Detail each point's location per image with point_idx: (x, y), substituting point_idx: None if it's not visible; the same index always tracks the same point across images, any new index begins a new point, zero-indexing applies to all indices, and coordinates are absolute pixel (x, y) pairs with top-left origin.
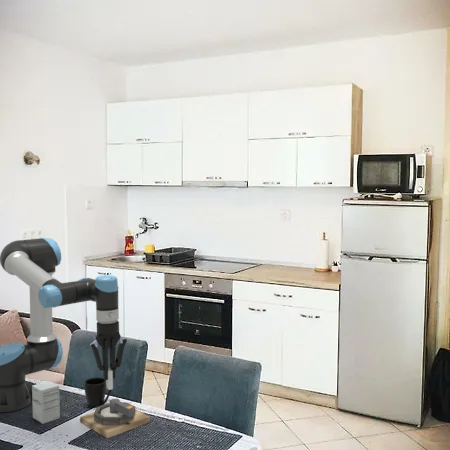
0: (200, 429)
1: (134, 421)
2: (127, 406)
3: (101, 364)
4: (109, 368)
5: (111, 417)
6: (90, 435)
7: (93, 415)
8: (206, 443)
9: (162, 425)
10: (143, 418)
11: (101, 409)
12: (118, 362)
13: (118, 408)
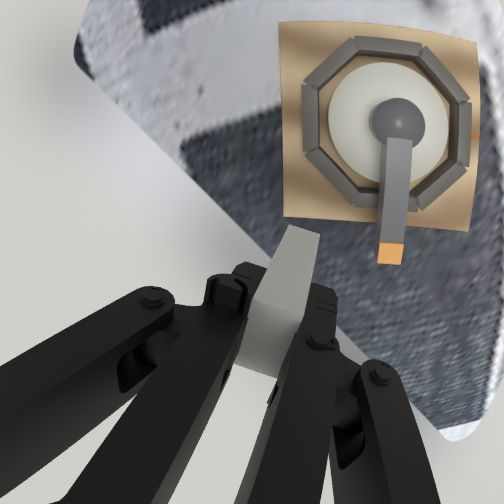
0: (480, 358)
1: (409, 218)
2: (396, 232)
3: (129, 393)
4: (296, 314)
5: (335, 175)
6: (256, 147)
7: (327, 46)
8: (424, 404)
9: (461, 274)
10: (445, 225)
11: (364, 52)
12: (337, 453)
13: (382, 173)
